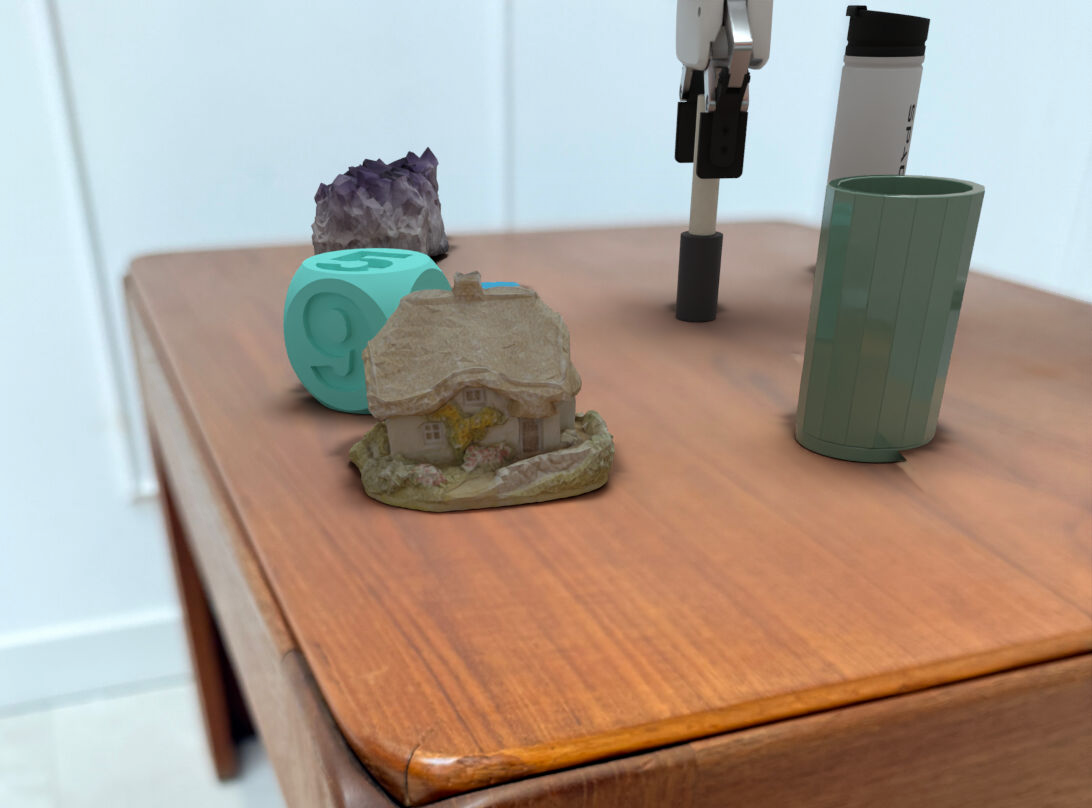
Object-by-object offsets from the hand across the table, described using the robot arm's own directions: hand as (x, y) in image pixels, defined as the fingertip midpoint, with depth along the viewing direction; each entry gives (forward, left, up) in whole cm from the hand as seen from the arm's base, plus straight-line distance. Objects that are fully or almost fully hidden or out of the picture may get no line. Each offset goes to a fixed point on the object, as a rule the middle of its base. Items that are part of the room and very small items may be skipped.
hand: (706, 168), depth 80 cm
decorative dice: (+24, +18, -11) cm, 32 cm away
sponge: (+16, -3, -11) cm, 19 cm away
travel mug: (-16, -12, -11) cm, 23 cm away
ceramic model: (+18, +32, -11) cm, 38 cm away
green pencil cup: (-4, +29, -10) cm, 31 cm away
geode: (+25, -25, -11) cm, 37 cm away
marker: (0, 0, -10) cm, 10 cm away
